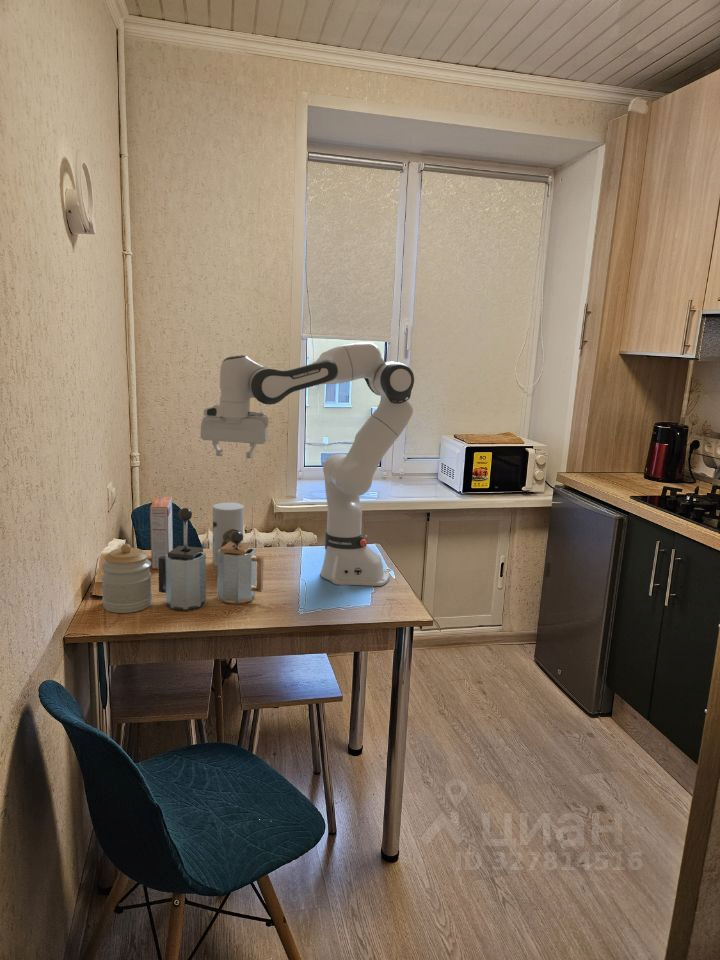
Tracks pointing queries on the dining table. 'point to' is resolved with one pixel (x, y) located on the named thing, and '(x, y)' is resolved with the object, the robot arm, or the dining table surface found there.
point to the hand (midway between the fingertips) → (234, 456)
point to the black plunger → (185, 524)
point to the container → (225, 523)
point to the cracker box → (161, 528)
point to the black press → (183, 578)
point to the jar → (126, 580)
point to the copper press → (238, 573)
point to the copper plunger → (237, 538)
